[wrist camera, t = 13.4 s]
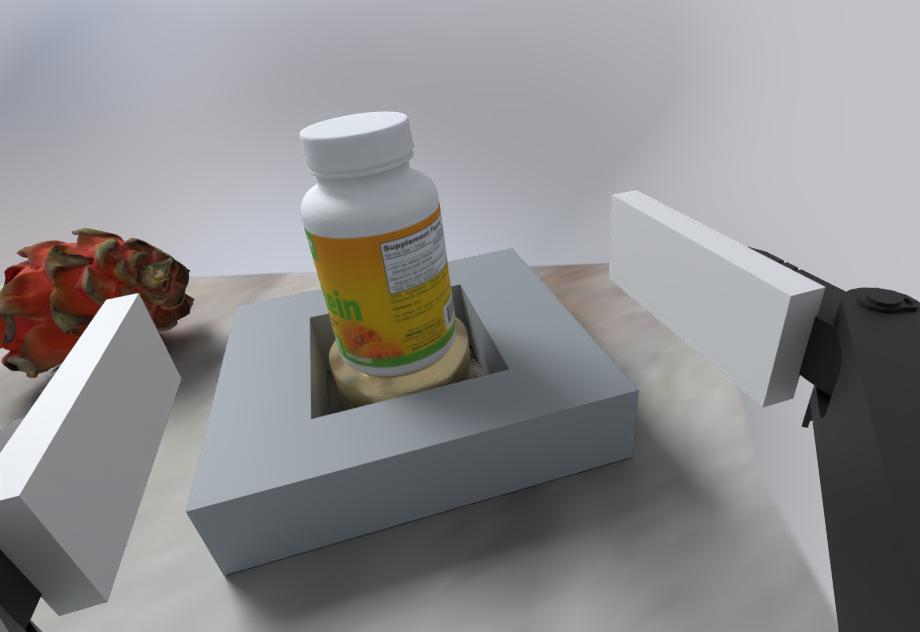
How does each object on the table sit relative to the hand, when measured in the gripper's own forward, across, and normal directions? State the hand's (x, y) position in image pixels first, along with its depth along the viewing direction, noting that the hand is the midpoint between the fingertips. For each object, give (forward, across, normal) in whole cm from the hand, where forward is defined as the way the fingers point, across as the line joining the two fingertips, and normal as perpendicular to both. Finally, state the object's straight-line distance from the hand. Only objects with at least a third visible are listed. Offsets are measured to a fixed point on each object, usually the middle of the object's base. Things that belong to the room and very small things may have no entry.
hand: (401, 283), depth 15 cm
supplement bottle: (+7, 0, -7) cm, 10 cm away
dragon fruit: (+18, -17, -10) cm, 27 cm away
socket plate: (+7, 0, -10) cm, 12 cm away
